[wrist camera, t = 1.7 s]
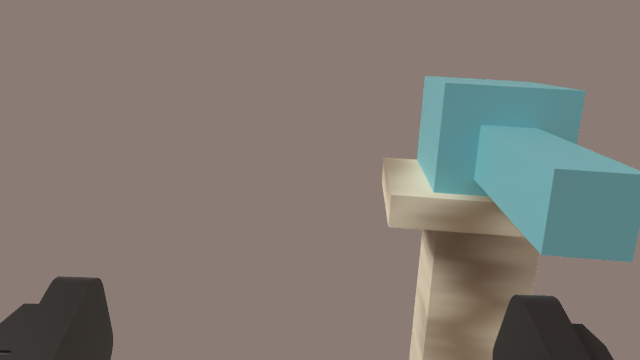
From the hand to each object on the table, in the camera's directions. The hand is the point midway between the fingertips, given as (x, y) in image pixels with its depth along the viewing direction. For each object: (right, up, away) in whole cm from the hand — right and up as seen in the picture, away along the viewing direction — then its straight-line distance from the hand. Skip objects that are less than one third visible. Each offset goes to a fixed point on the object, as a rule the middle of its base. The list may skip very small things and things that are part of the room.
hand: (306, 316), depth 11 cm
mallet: (+8, +2, +13) cm, 16 cm away
